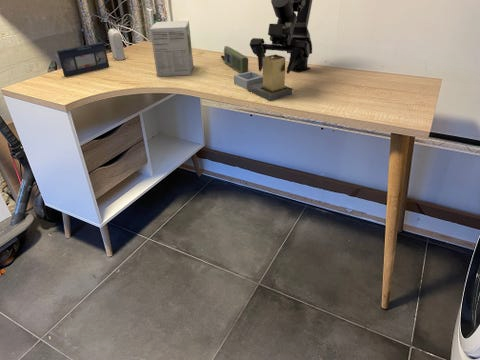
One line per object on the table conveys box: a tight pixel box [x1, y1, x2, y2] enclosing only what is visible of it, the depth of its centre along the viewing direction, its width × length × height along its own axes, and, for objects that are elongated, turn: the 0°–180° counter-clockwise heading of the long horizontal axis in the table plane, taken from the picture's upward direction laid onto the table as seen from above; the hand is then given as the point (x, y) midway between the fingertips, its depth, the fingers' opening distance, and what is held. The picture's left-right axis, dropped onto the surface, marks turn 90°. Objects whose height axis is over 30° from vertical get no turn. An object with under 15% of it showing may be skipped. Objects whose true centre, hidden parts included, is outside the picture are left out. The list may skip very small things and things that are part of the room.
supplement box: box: [149, 20, 194, 77], centre depth 145 cm, size 13×13×18 cm
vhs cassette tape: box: [56, 42, 110, 78], centre depth 151 cm, size 18×3×10 cm, turn 129°
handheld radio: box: [220, 45, 249, 74], centre depth 150 cm, size 7×3×25 cm
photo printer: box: [107, 28, 126, 61], centre depth 167 cm, size 10×4×12 cm, turn 28°
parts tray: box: [233, 70, 263, 90], centre depth 132 cm, size 8×8×3 cm
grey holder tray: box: [247, 82, 293, 102], centre depth 124 cm, size 12×9×2 cm
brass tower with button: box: [262, 53, 286, 93], centre depth 120 cm, size 5×5×12 cm
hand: (273, 71), depth 119 cm, fingers open, 9 cm apart
